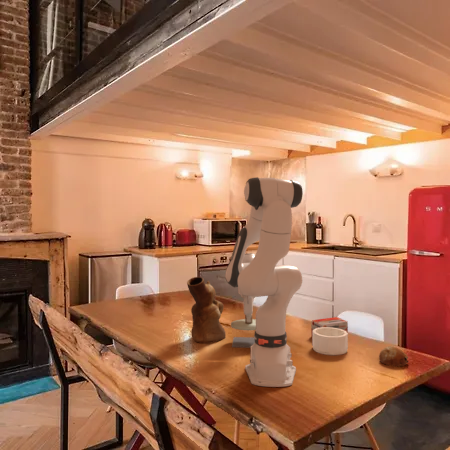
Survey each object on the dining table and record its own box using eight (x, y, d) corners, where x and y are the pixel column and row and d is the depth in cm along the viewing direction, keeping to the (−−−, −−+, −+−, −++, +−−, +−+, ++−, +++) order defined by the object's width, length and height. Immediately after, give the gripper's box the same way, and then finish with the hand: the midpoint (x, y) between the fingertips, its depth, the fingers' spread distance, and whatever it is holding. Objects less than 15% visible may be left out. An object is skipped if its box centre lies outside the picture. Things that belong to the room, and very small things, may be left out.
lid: (267, 330, 173) (267, 319, 173) (229, 330, 174) (229, 319, 174) (266, 321, 189) (266, 311, 189) (232, 321, 190) (231, 311, 190)
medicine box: (321, 341, 185) (321, 324, 185) (310, 336, 193) (311, 320, 192) (348, 337, 191) (348, 320, 190) (337, 333, 198) (337, 316, 198)
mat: (264, 348, 176) (264, 347, 176) (231, 347, 177) (231, 347, 177) (263, 338, 190) (263, 337, 190) (233, 337, 191) (233, 337, 191)
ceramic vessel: (232, 337, 191) (232, 274, 190) (204, 350, 173) (203, 280, 172) (205, 332, 200) (205, 271, 199) (176, 344, 182) (175, 277, 181)
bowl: (350, 355, 167) (350, 337, 166) (315, 354, 168) (315, 336, 168) (343, 344, 181) (343, 327, 181) (310, 343, 182) (310, 327, 182)
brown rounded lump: (389, 365, 166) (380, 346, 167) (413, 360, 160) (404, 340, 161) (380, 373, 158) (372, 352, 160) (406, 367, 152) (396, 346, 154)
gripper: (255, 293, 171) (256, 326, 171) (255, 286, 192) (256, 315, 192) (240, 293, 172) (241, 326, 172) (241, 286, 192) (242, 316, 192)
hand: (248, 320), depth 182 cm, fingers closed on lid, 3 cm apart
